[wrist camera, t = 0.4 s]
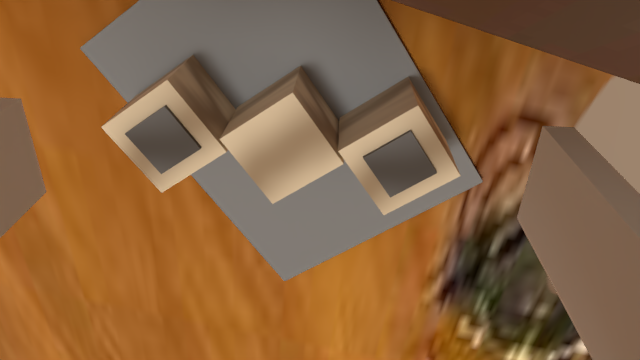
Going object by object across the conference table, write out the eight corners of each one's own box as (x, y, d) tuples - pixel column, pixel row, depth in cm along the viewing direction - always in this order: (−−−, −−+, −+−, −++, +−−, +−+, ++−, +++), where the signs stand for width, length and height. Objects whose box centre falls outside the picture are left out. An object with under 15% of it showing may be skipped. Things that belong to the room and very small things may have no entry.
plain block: (237, 107, 39) (219, 139, 33) (300, 65, 37) (292, 92, 32) (282, 165, 41) (272, 204, 36) (344, 128, 39) (343, 164, 34)
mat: (83, 46, 38) (79, 48, 37) (301, -129, 31) (300, -129, 31) (285, 277, 47) (284, 281, 47) (481, 178, 41) (482, 181, 41)
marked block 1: (131, 98, 39) (95, 131, 33) (193, 54, 37) (165, 81, 31) (182, 157, 41) (157, 196, 36) (243, 118, 39) (225, 154, 34)
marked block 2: (336, 119, 39) (334, 155, 33) (408, 76, 37) (418, 107, 31) (376, 177, 41) (380, 219, 36) (445, 139, 39) (461, 178, 34)
